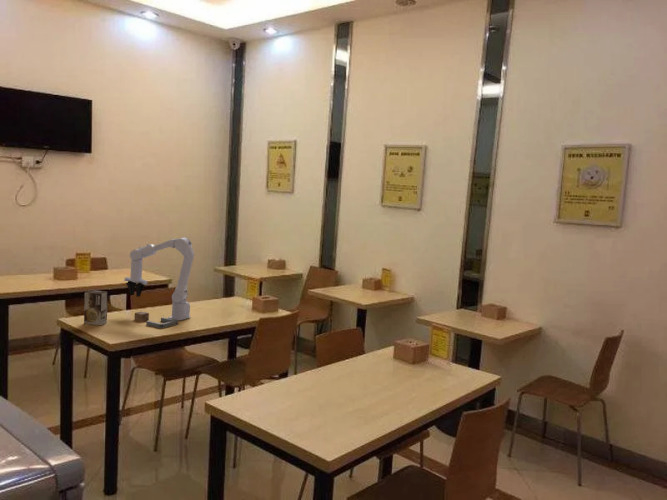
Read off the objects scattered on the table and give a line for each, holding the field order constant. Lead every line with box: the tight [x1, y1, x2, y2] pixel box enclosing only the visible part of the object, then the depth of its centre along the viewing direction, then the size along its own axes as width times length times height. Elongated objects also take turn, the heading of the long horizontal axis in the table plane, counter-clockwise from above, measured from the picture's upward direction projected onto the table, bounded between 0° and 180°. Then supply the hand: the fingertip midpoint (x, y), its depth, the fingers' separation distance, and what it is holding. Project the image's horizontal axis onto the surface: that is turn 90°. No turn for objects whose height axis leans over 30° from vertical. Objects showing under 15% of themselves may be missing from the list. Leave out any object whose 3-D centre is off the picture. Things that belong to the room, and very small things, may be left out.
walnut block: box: [134, 311, 150, 323], centre depth 286 cm, size 5×5×4 cm
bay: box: [145, 316, 179, 329], centre depth 280 cm, size 12×10×2 cm
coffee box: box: [83, 289, 109, 326], centre depth 272 cm, size 9×6×16 cm
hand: (135, 295), depth 295 cm, fingers open, 4 cm apart
